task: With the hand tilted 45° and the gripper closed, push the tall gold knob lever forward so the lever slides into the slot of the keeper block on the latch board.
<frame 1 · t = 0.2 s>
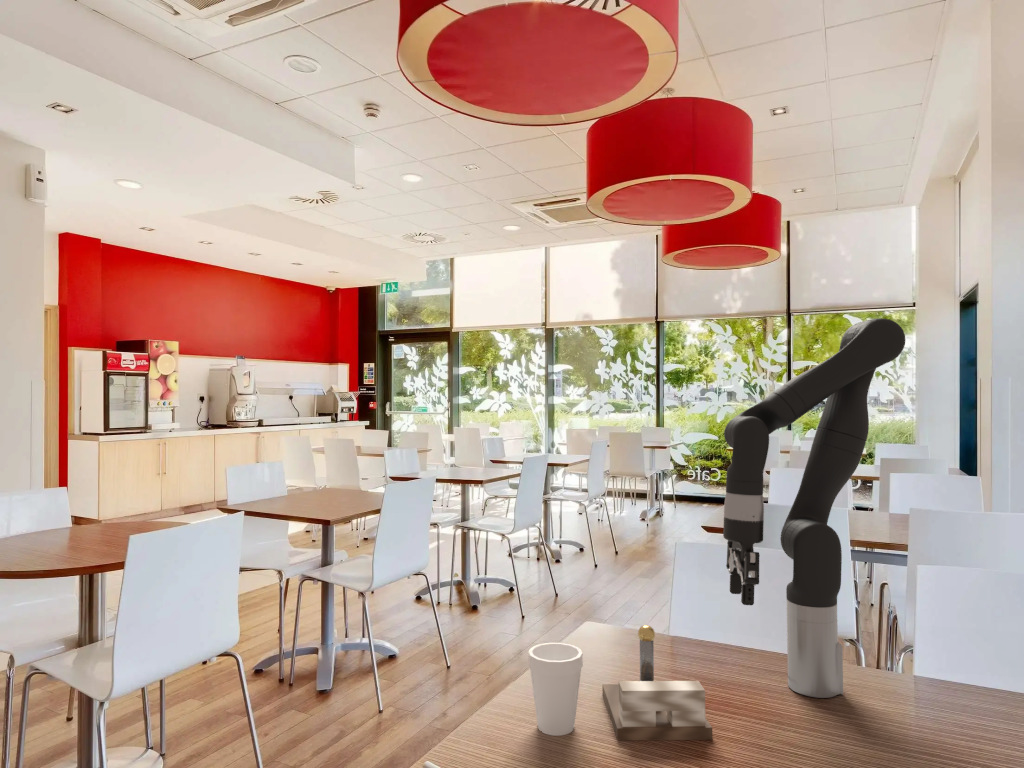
hand: (741, 598, 135), 18 cm above the table, tool pointing down, fingers open, 8 cm apart
latch board: (653, 715, 123), on the table
gold knob lever: (649, 662, 126), point 8 cm above the table, slide at 0.0 cm
foam cup: (555, 728, 119), on the table
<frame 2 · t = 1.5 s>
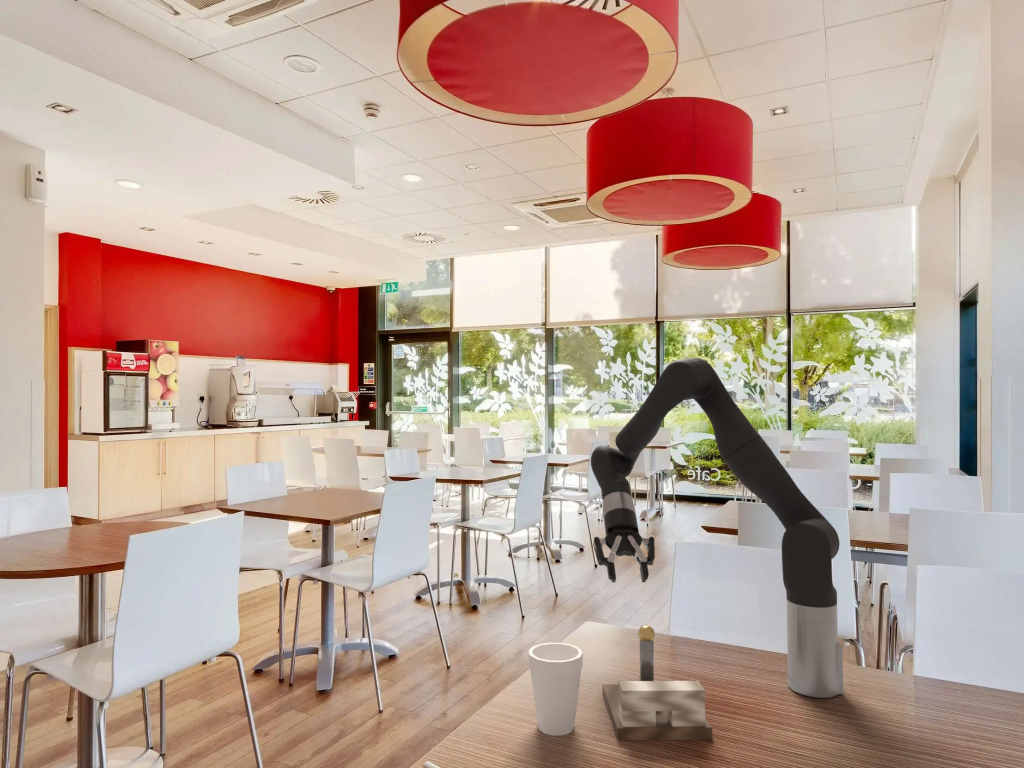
hand: (629, 580, 147), 18 cm above the table, tool tilted 45°, fingers open, 6 cm apart
nothing on the table moved.
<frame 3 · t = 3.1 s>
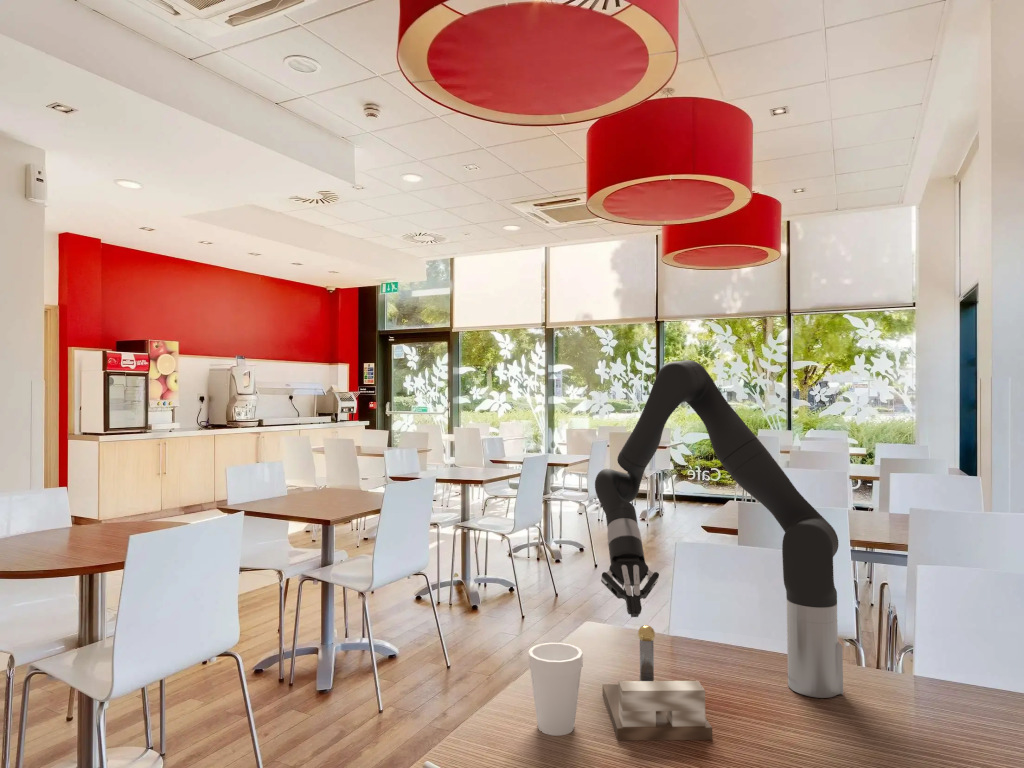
hand: (635, 615, 141), 13 cm above the table, tool tilted 45°, fingers closed
nothing on the table moved.
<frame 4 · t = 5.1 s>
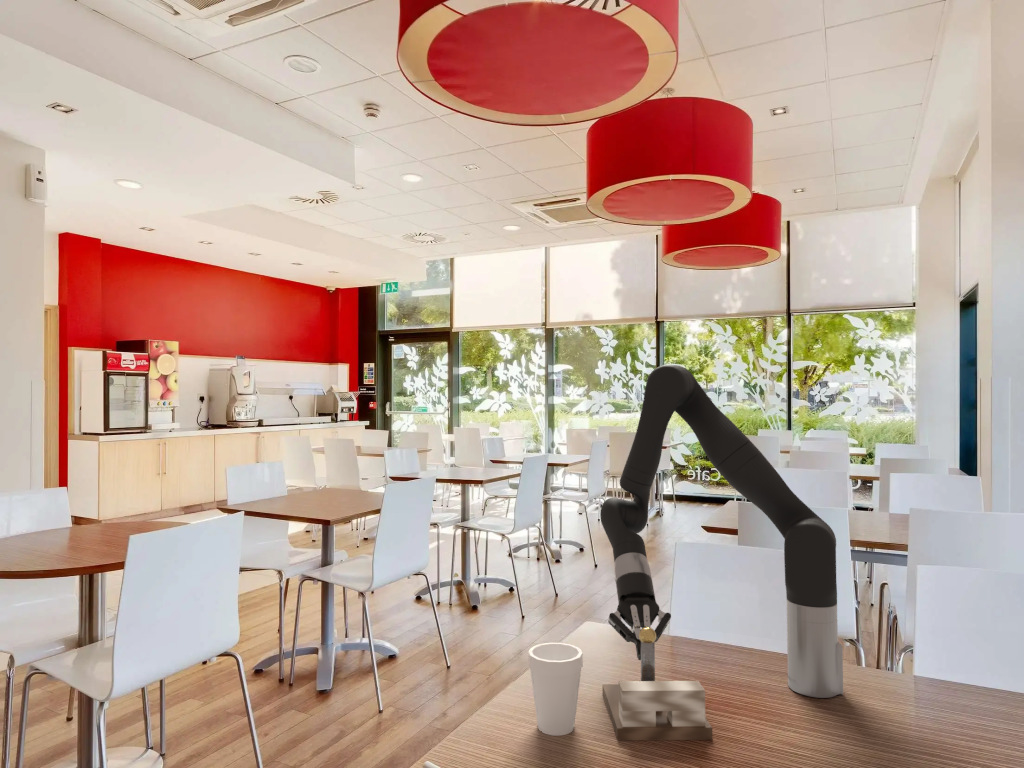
hand: (646, 661, 130), 7 cm above the table, tool tilted 45°, fingers closed
gold knob lever: (650, 664, 126), point 8 cm above the table, slide at 1.0 cm, touching gripper
everything else where it was.
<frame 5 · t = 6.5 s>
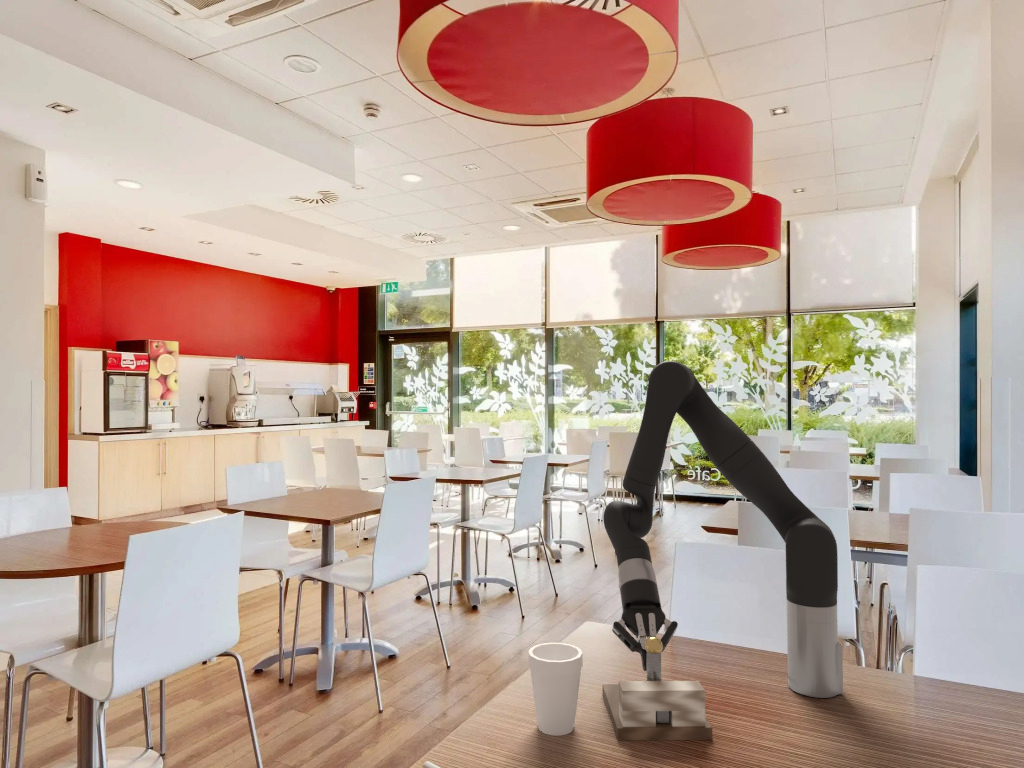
hand: (652, 672, 124), 7 cm above the table, tool tilted 45°, fingers closed
gold knob lever: (657, 676, 120), point 8 cm above the table, slide at 6.3 cm, touching gripper
everything else where it was.
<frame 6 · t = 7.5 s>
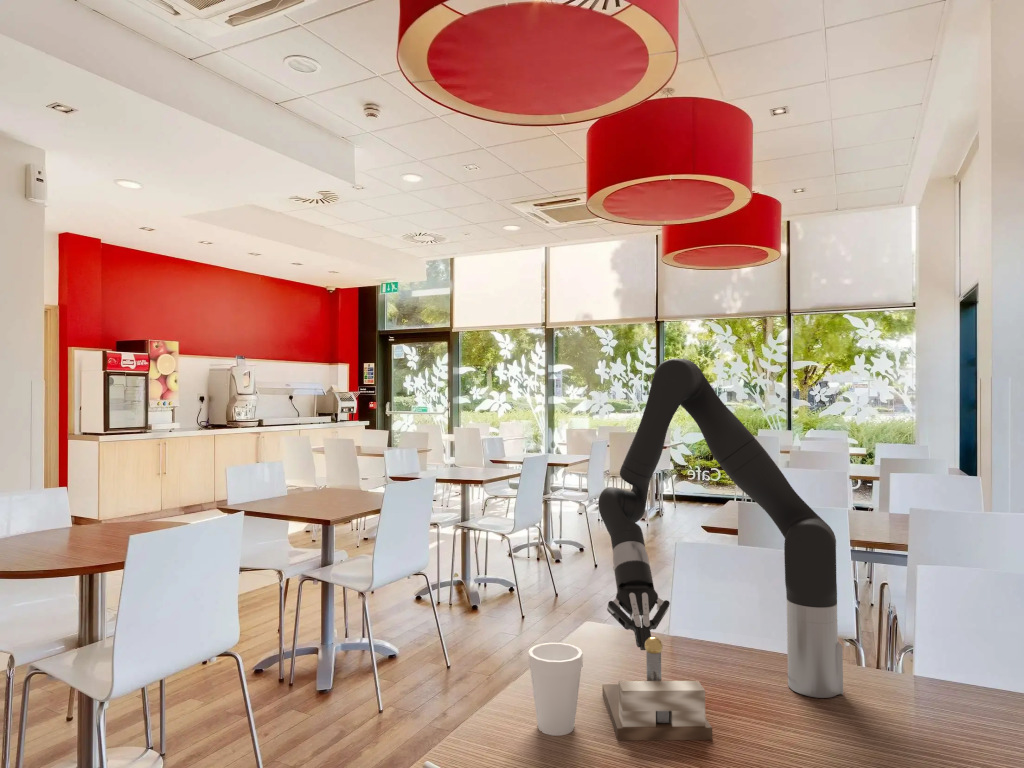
hand: (645, 648, 130), 10 cm above the table, tool tilted 45°, fingers closed
gold knob lever: (657, 676, 120), point 8 cm above the table, slide at 6.3 cm
everything else where it was.
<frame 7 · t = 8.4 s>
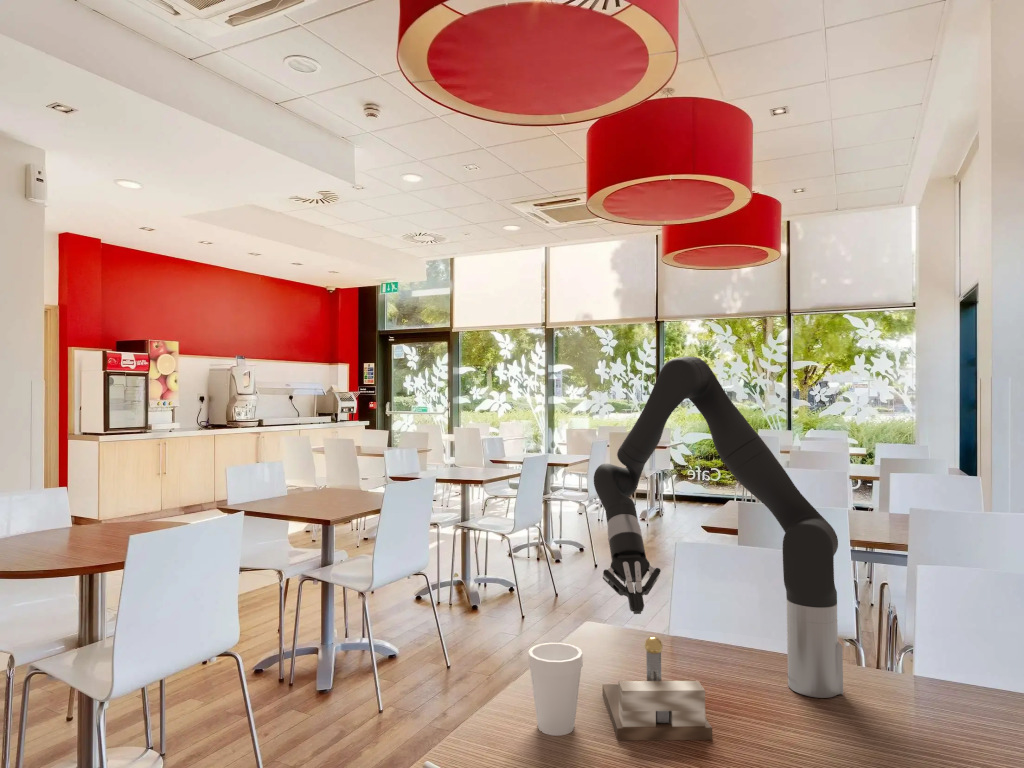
hand: (637, 612, 141), 13 cm above the table, tool tilted 45°, fingers closed
nothing on the table moved.
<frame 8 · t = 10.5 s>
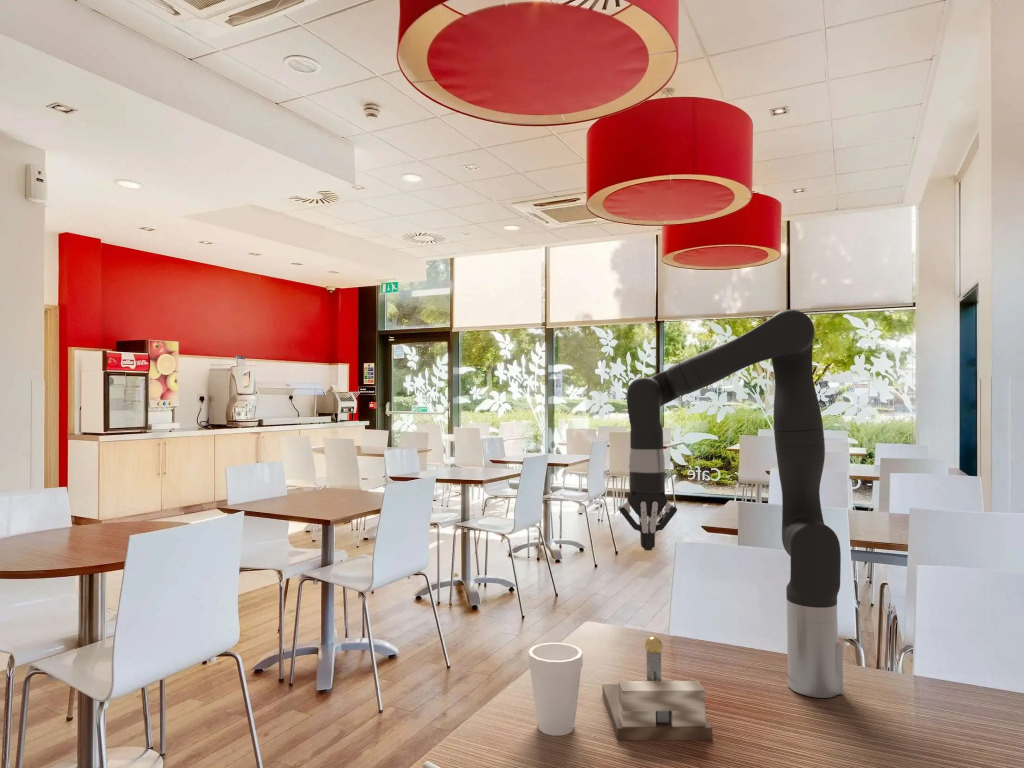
hand: (647, 549, 147), 25 cm above the table, tool pointing down, fingers closed
nothing on the table moved.
at the end: gold knob lever slide at 6.3 cm; foam cup moved 0.2 cm from its start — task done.
